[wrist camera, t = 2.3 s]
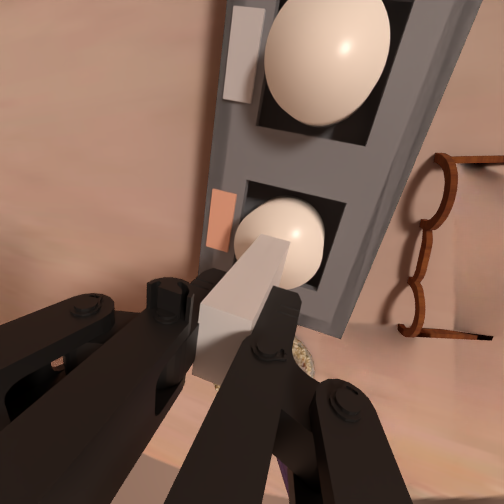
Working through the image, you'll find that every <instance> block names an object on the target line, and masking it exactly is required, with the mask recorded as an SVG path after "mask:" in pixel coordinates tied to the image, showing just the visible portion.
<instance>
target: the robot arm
mask: <svg viewBox="0 0 504 504" xmlns="http://www.w3.org/2000/svg"><path fill="white" fill-rule="evenodd" d="M289 246H290V241H286V240H282V239H279V238H275V237H271V236H268V235H264V234H261V235H260V236H259V237H258V238H257V239H256V240H255V241H254V243H253V244H252V245H251V246H250V247H249V248H248V249H247V250H246V252H245V253H244V254H243V255H242V256H241V257H240V258H239V260H238V261H237V262H236V263H235V264H234V265H233V266H232V268H231V269H230V270H229V271H228V272H225V271H222V270H219V269H216V268H211V269H209V270H206V271H203V272H202V273H201V274H200V275H199V276H198V277H196V279H194V280H193V281H192V282H191V283H189V282H186V281H184V280H182V279H178V278H173V277H163V278H159V279H154V280H152V281H150V282H148V283H147V308H146V309H145V310H144V311H142V312H141V313H134V312H125V311H115V310H114V301H113V300H112V299H111V298H110V297H108V296H106V295H103V294H96V293H90V294H82V295H78V296H75V297H71V298H69V299H66V300H64V301H61V302H59V303H56V304H54V305H51V306H49V307H46V308H43V309H41V310H38V311H36V312H33V313H31V314H28V315H26V316H23V317H21V318H18V319H15V320H13V321H10V322H8V323H5V324H3V325H0V504H110V503H111V502H112V500H113V498H114V497H115V495H116V494H117V492H118V490H119V489H120V487H121V486H122V484H123V482H124V481H125V479H126V478H127V476H128V474H129V473H130V471H131V470H132V468H133V467H134V465H135V463H136V462H137V460H138V459H139V457H140V456H141V454H142V452H143V451H144V449H145V448H146V446H147V445H148V443H149V441H150V440H151V438H152V437H153V435H154V433H155V432H156V430H157V429H158V427H159V426H160V424H161V422H162V421H163V419H164V418H165V416H166V414H167V413H168V411H169V410H170V408H171V406H172V405H173V403H174V402H175V400H176V399H177V397H178V395H179V394H180V392H181V391H182V389H183V386H184V383H185V376H186V373H187V371H188V370H189V368H190V367H191V365H192V364H193V369H192V375H194V376H197V377H199V378H202V379H204V380H207V381H209V382H212V383H214V384H217V385H219V386H220V388H219V390H218V393H217V395H216V397H215V399H214V401H213V403H212V405H211V407H210V409H209V411H208V413H207V415H206V417H205V419H204V421H203V423H202V426H201V428H200V430H199V432H198V434H197V436H196V438H195V440H194V442H193V444H192V446H191V448H190V450H189V452H188V454H187V456H186V459H185V461H184V463H183V465H182V467H181V469H180V471H179V473H178V475H177V477H176V479H175V481H174V483H173V485H172V487H171V489H170V492H169V494H168V496H167V498H166V500H165V502H164V504H262V499H263V495H264V490H265V485H266V480H267V475H268V471H269V466H270V461H271V456H272V454H273V455H274V456H276V457H277V458H278V459H279V460H280V461H281V462H282V463H283V464H284V465H286V466H287V473H288V489H289V504H413V503H412V500H411V498H410V495H409V493H408V490H407V488H406V485H405V483H404V480H403V478H402V475H401V473H400V470H399V468H398V465H397V463H396V460H395V458H394V455H393V453H392V450H391V448H390V445H389V443H388V440H387V438H386V435H385V433H384V430H383V427H382V425H381V422H380V420H379V417H378V415H377V412H376V410H375V408H374V407H373V405H372V403H371V401H370V400H369V398H368V397H367V396H366V395H365V394H364V393H363V392H362V391H361V390H360V389H358V388H357V387H355V386H354V385H352V384H351V383H349V382H346V381H343V380H340V379H327V380H325V381H323V382H321V383H319V382H318V381H316V380H315V379H313V378H312V377H310V376H309V375H308V374H307V373H305V372H304V371H303V370H302V369H301V368H300V367H299V366H298V364H297V363H296V361H295V359H294V357H293V353H292V346H293V342H294V337H295V332H296V328H297V323H298V318H299V313H300V309H301V304H302V301H301V299H300V296H299V294H298V293H296V292H293V291H289V290H286V289H283V288H280V287H279V284H280V280H281V276H282V273H283V269H284V265H285V261H286V257H287V253H288V250H289ZM62 356H63V362H64V364H62V365H59V366H57V367H51V362H52V361H54V360H56V359H58V358H60V357H62Z"/></svg>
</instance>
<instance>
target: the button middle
mask: <svg viewBox="0 0 504 504" xmlns="http://www.w3.org/2000/svg"><path fill="white" fill-rule="evenodd" d="M389 46H390V25H389V19H388V15H387V12H386V9H385V6H384V4H383V2H382V0H288V1H287V2H286V3H285V4H284V6H283V7H282V8H281V10H280V11H279V13H278V15H277V16H276V18H275V20H274V22H273V24H272V27H271V29H270V32H269V35H268V38H267V43H266V47H265V56H264V67H265V75H266V80H267V84H268V87H269V89H270V92H271V94H272V96H273V97H274V99H275V100H276V102H277V103H278V104H279V106H280V107H281V108H282V109H283V110H284V111H286V112H287V113H288V114H289V115H291V116H292V117H293V118H295V119H296V120H297V121H299V122H301V123H302V124H305V125H307V126H311V127H329V126H333V125H336V124H338V123H340V122H343V121H344V120H346V119H347V118H349V117H350V116H352V115H353V114H354V113H355V112H356V111H357V110H358V109H359V108H360V107H361V106H362V104H363V103H364V102H365V100H366V99H367V97H368V96H369V94H370V93H371V91H372V89H373V88H374V86H375V85H376V83H377V82H378V80H379V78H380V76H381V74H382V72H383V69H384V66H385V64H386V60H387V56H388V52H389Z"/></svg>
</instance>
